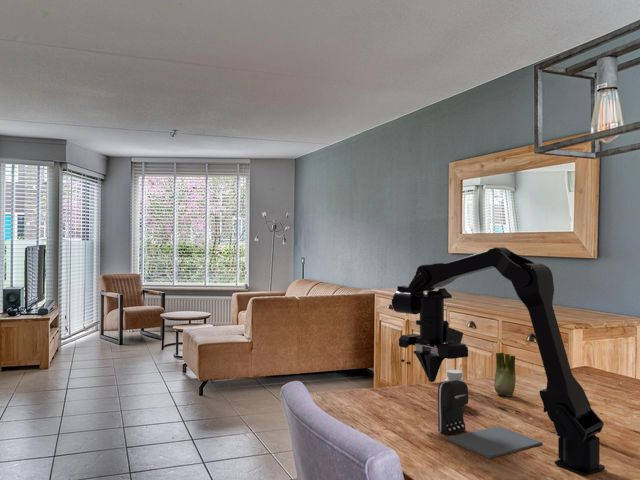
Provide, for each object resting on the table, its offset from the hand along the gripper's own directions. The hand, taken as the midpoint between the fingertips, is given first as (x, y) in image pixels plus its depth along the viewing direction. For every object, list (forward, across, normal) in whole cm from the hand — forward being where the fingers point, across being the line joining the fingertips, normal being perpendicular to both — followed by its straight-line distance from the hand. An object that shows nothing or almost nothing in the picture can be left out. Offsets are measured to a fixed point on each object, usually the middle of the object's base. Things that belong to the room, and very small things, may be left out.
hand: (431, 381), depth 130 cm
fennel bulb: (+10, +8, -34) cm, 36 cm away
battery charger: (+10, -7, 0) cm, 12 cm away
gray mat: (+10, -16, -3) cm, 19 cm away
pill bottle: (+10, +8, -15) cm, 20 cm away
